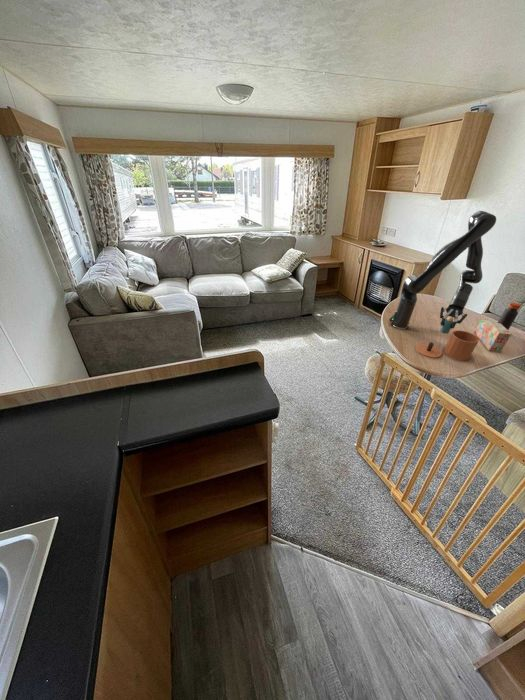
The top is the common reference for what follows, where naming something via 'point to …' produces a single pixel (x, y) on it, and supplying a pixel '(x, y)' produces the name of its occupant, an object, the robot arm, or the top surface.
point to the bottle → (509, 315)
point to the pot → (461, 345)
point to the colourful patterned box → (492, 335)
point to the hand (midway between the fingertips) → (446, 326)
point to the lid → (428, 350)
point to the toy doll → (447, 325)
